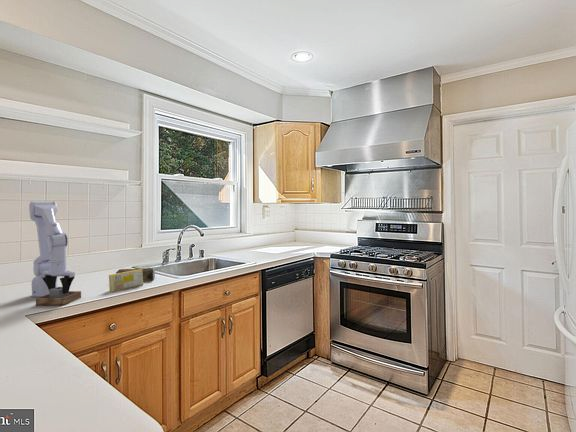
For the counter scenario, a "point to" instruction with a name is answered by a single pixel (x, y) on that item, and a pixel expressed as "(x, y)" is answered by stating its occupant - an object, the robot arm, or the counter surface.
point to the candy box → (125, 280)
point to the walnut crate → (58, 299)
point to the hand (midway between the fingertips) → (59, 292)
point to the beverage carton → (147, 273)
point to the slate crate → (57, 293)
